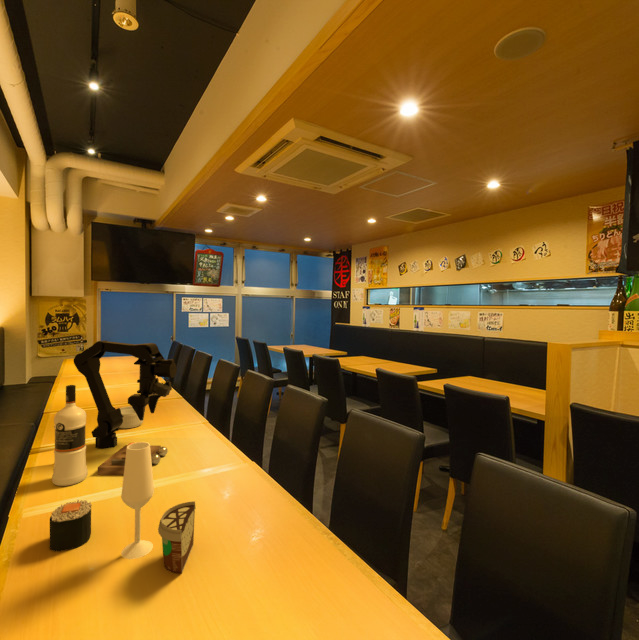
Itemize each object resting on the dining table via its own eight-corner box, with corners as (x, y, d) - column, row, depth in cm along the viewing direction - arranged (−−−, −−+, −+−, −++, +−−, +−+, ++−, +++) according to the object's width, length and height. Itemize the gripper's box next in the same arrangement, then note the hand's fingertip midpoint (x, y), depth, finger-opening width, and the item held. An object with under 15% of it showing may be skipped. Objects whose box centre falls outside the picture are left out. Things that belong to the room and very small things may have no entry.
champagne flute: (130, 539, 88) (131, 439, 87) (158, 541, 88) (160, 441, 87) (114, 558, 81) (115, 451, 80) (144, 560, 81) (145, 452, 80)
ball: (132, 454, 133) (127, 453, 130) (128, 447, 135) (123, 445, 131) (140, 448, 134) (135, 447, 131) (136, 441, 135) (132, 439, 132)
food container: (168, 542, 87) (168, 500, 87) (195, 541, 88) (195, 500, 88) (148, 580, 75) (149, 532, 75) (179, 579, 76) (180, 531, 75)
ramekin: (116, 431, 160) (116, 415, 160) (109, 423, 170) (109, 408, 170) (148, 425, 169) (148, 410, 169) (140, 418, 179) (140, 404, 179)
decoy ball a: (156, 457, 134) (156, 448, 134) (159, 454, 138) (159, 445, 138) (165, 457, 135) (165, 448, 134) (168, 454, 138) (169, 445, 138)
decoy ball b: (148, 466, 127) (148, 456, 127) (152, 461, 131) (152, 452, 131) (158, 466, 128) (158, 456, 128) (161, 462, 131) (162, 452, 131)
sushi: (45, 555, 82) (45, 519, 81) (55, 533, 89) (55, 501, 89) (88, 546, 85) (88, 512, 85) (94, 526, 93) (94, 495, 92)
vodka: (94, 476, 119) (95, 383, 118) (67, 489, 110) (67, 389, 109) (72, 471, 122) (73, 381, 121) (44, 484, 113) (44, 386, 112)
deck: (97, 474, 120) (97, 462, 120) (125, 451, 139) (125, 441, 139) (138, 475, 121) (138, 462, 121) (160, 452, 140) (160, 441, 139)
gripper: (158, 381, 132) (157, 425, 133) (177, 372, 151) (177, 410, 152) (127, 381, 132) (126, 424, 133) (150, 371, 151) (150, 409, 151)
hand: (147, 416), depth 142 cm, fingers open, 9 cm apart
